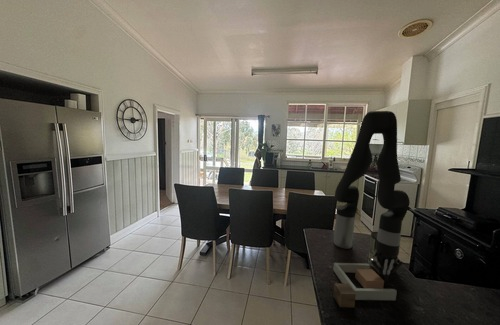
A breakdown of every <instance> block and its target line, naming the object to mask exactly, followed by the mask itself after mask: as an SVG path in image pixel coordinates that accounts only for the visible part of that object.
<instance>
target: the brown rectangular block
mask: <svg viewBox="0 0 500 325" xmlns="http://www.w3.org/2000/svg"><path fill="white" fill-rule="evenodd" d="M354 274H355V275H354V278H355V279H356V281H358V283H359V284H360V285H361V287H362V288H367V289H384V285H385V283H384V280H383V279H382V278H381V277H380V276H379V274H378V273H376V271H375V270H373V269H371V268H370V269H356V273H354Z"/></svg>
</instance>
